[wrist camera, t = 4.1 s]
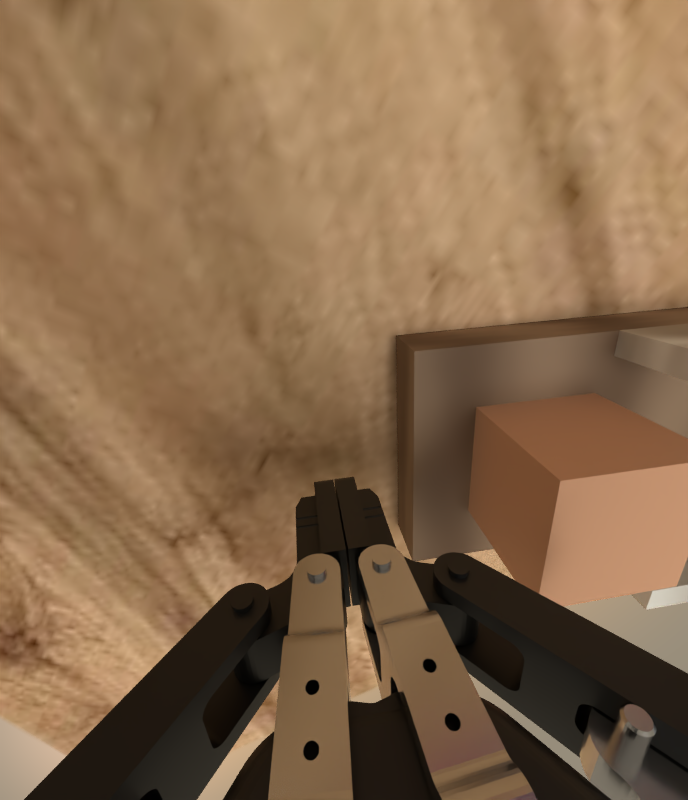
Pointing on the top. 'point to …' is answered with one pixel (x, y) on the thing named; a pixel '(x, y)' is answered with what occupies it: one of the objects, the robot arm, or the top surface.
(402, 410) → the walnut platform
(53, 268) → the top surface
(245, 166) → the top surface
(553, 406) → the terracotta block
